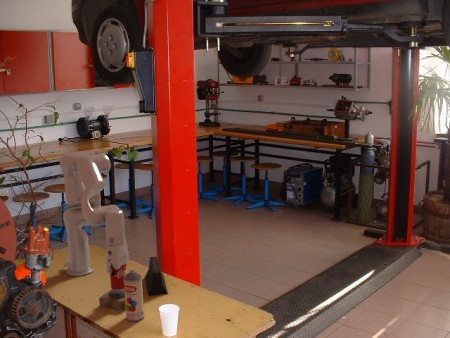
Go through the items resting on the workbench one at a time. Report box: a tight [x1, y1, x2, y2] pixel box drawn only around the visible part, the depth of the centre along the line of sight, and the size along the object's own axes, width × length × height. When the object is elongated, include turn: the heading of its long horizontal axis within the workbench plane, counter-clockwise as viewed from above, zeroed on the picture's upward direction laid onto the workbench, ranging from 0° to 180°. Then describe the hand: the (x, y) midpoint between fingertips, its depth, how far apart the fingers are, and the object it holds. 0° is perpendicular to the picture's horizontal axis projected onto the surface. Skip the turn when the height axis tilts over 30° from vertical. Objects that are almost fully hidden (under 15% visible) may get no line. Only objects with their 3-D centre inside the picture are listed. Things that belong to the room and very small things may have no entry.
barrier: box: [144, 256, 169, 297], centre depth 247 cm, size 24×9×10 cm, turn 11°
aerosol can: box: [124, 268, 145, 323], centre depth 214 cm, size 7×7×20 cm
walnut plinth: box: [98, 288, 126, 312], centre depth 229 cm, size 12×12×4 cm
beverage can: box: [109, 264, 127, 291], centre depth 227 cm, size 6×6×12 cm
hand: (118, 281), depth 228 cm, fingers closed on beverage can, 4 cm apart
